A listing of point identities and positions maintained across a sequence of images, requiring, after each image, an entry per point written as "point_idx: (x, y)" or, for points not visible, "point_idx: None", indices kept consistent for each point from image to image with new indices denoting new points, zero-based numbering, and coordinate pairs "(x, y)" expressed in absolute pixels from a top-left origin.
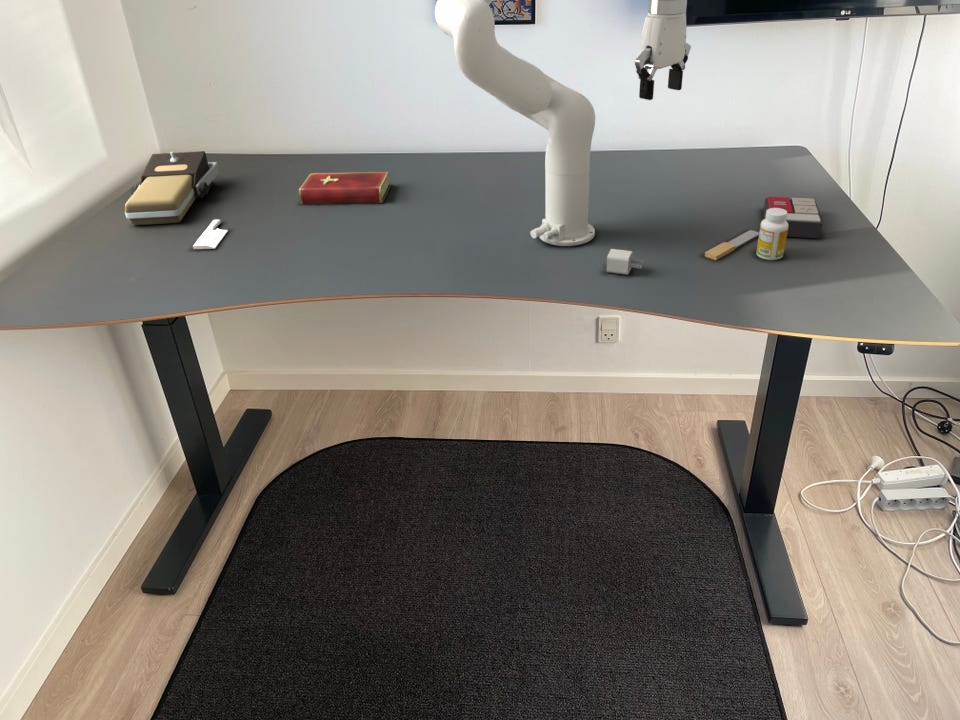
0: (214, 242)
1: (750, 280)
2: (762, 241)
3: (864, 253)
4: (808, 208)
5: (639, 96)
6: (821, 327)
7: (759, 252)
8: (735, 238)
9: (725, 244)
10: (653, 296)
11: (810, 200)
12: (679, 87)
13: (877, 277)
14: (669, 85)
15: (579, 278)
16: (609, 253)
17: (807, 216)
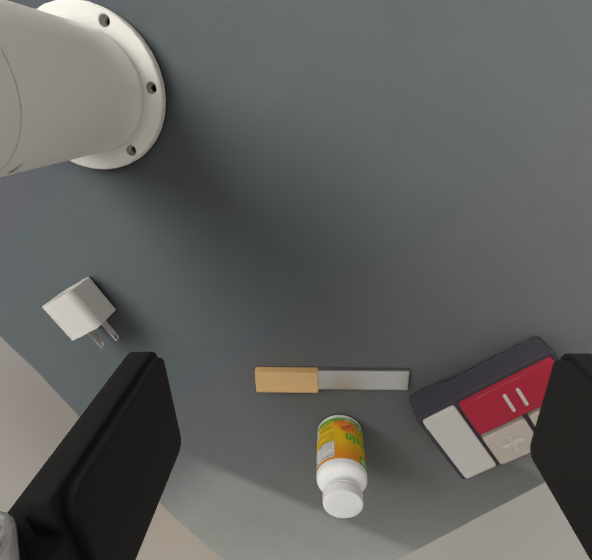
0: None
1: (242, 447)
2: (317, 451)
3: (442, 507)
4: (513, 447)
5: (130, 355)
6: (206, 538)
7: (318, 431)
8: (353, 372)
9: (308, 379)
10: (85, 385)
11: None
12: (543, 470)
13: (375, 537)
14: (565, 388)
15: (9, 268)
16: (49, 305)
17: (474, 458)
